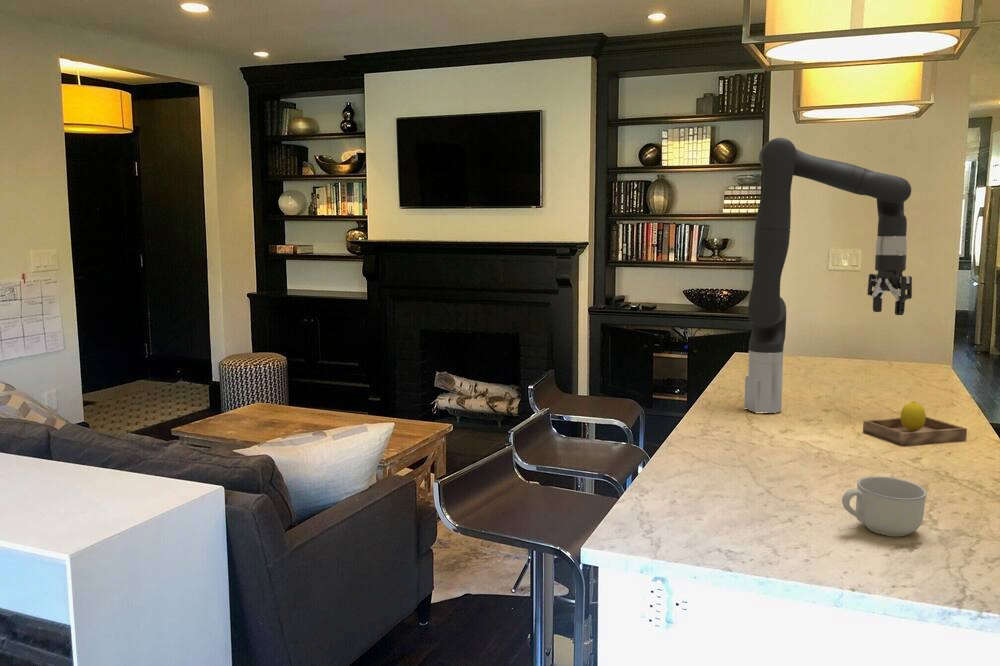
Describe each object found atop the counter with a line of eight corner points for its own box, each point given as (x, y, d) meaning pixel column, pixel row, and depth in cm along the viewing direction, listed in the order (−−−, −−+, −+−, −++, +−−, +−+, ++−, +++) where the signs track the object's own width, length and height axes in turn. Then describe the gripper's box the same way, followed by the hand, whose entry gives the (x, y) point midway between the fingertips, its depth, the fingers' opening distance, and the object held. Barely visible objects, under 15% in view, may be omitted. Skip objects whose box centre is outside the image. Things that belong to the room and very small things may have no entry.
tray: (902, 446, 194) (903, 433, 193) (862, 432, 207) (863, 420, 207) (966, 440, 198) (966, 428, 198) (923, 427, 211) (924, 416, 211)
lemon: (928, 435, 200) (929, 403, 199) (903, 435, 201) (904, 403, 200) (920, 430, 205) (922, 399, 204) (897, 430, 206) (898, 398, 205)
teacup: (906, 519, 146) (909, 475, 144) (936, 542, 135) (939, 495, 134) (827, 519, 146) (828, 475, 145) (850, 542, 135) (852, 495, 134)
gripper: (861, 252, 226) (858, 311, 228) (897, 254, 213) (894, 316, 215) (884, 252, 228) (881, 310, 230) (922, 253, 214) (919, 315, 216)
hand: (888, 313), depth 222 cm, fingers open, 8 cm apart
